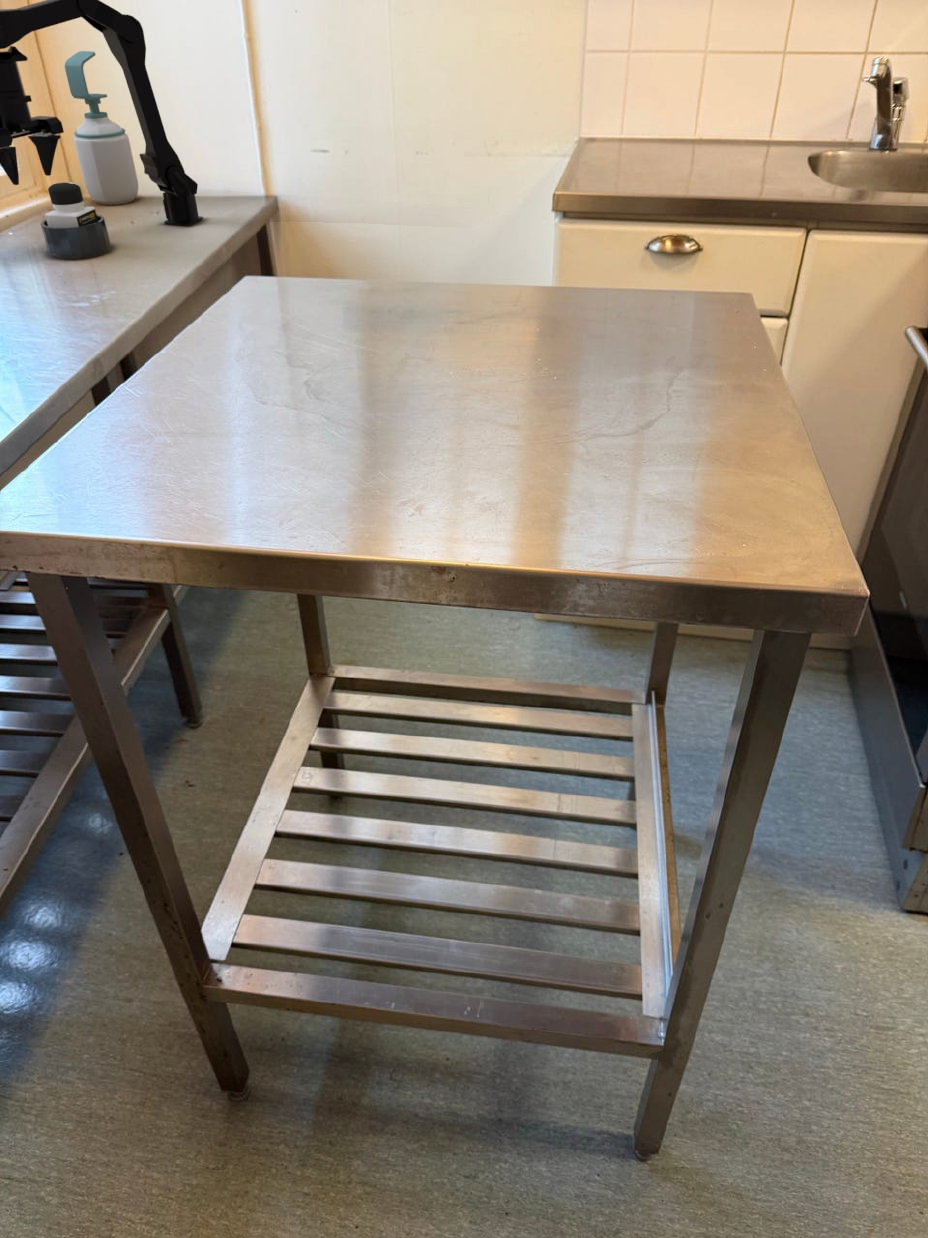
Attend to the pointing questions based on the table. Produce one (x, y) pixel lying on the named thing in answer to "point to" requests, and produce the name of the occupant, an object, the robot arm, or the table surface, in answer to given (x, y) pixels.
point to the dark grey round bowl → (77, 240)
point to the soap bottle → (101, 144)
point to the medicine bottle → (69, 207)
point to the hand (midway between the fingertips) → (32, 179)
